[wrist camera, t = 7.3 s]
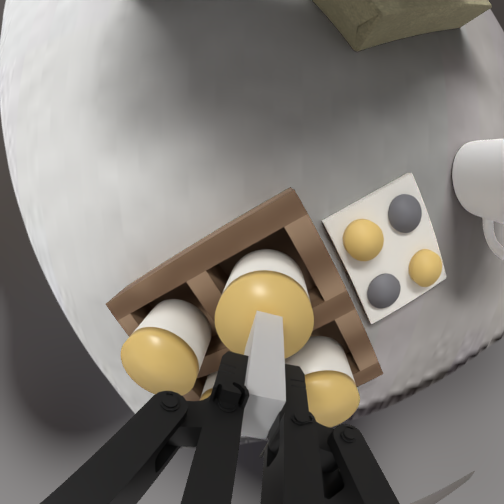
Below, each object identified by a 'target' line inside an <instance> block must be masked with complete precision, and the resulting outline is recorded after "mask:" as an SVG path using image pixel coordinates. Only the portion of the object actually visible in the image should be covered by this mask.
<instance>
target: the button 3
mask: <svg viewBox="0 0 504 504" xmlns="http://www.w3.org/2000/svg"><path fill="white" fill-rule="evenodd" d="M256 311H261V312H265V313H269V314H273V315H277V316H281V317H283V336H284V358H288V357H290V356H292V355H293V354H295V353H297V352H298V351H299V350H300V349H301V348H302V347H303V346H304V345H305V344H306V343H307V341H308V340H309V338H310V336H311V333H312V330H313V326H314V315H313V310H312V306H311V302H310V299H309V295H308V291H307V288H306V284H305V281H304V277H303V274H302V271H301V269H300V267H299V266H298V264H297V263H296V262H295V261H294V260H293V259H292V258H291V257H290V256H288V255H287V254H285V253H283V252H280V251H277V250H272V249H261V250H256V251H253V252H250V253H248V254H247V255H245V256H243V257H242V258H241V259H240V260H239V261H238V262H237V263H236V264H235V266H234V268H233V270H232V272H231V274H230V276H229V279H228V281H227V283H226V286H225V288H224V291H223V293H222V295H221V298H220V300H219V302H218V305H217V308H216V311H215V327H216V331H217V333H218V336H219V338H220V339H221V341H222V342H223V343H224V345H225V346H226V347H227V348H228V349H229V350H230V351H232V352H234V353H238V354H242V355H244V352H245V347H246V344H247V341H248V337H249V334H250V331H251V328H252V324H253V321H254V318H255V314H256Z"/></svg>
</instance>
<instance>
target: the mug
mask: <svg viewBox="0 0 504 504" xmlns="http://www.w3.org/2000/svg"><path fill="white" fill-rule="evenodd" d="M452 179H453V186H454V190H455V193H456V196H457V198H458V200H459V202H460V203H461V205H462V206H463V207H464V209H466V210H467V211H468V212H470V213H471V214H474V215H476V216H479V217H482V222H483V231H484V236H485V239H486V242H487V244H488V246H489V248H490V249H491V251H492V252H493V253H494V254H495V255H496V256H497V257H498V258H500V259H501V260H504V246H502V245H501V244H500V243H499V242H498V240H497V238H496V236H495V233H494V222H498V223H501V224H504V139H491V140H478V141H472V142H468V143H466V144H464V145H463V146H462V147H461V148H460V149H459V151H458V152H457V154H456V156H455V159H454V163H453V169H452Z"/></svg>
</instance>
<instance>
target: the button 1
mask: <svg viewBox="0 0 504 504" xmlns="http://www.w3.org/2000/svg"><path fill="white" fill-rule="evenodd" d="M211 336H212V331H211V326H210V323H209V321H208V319H207V317H206V316H205V315H204V313H203V312H202V311H201V310H200V309H198V308H197V307H196V306H194V305H193V304H191V303H189V302H186V301H183V300H179V299H168V300H164V301H162V302H160V303H158V304H157V305H156V306H155V307H154V308H153V309H152V310H151V312H150V313H149V314H148V315H147V316H146V318H145V319H144V320H143V321H142V322H141V324H140V325H139V326H138V327H137V328H136V330H135V331H134V332H133V333H132V334H131V336H130V337H129V338H128V339H127V341H126V342H125V343H124V345H123V346H122V349H121V360H122V364H123V366H124V368H125V370H126V372H127V373H128V375H129V376H130V377H131V378H132V379H133V380H134V382H136V383H137V384H138V385H139V386H141V387H142V388H144V389H145V390H147V391H149V392H151V393H153V394H157V393H158V392H162V391H173V392H176V393H179V394H180V395H181V396H182V395H185V394H187V393H188V392H189V391H190V390H191V389H192V388H193V386H194V384H195V381H196V378H197V376H198V373H199V370H200V367H201V365H202V362H203V359H204V357H205V354H206V351H207V349H208V346H209V343H210V340H211Z"/></svg>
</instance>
